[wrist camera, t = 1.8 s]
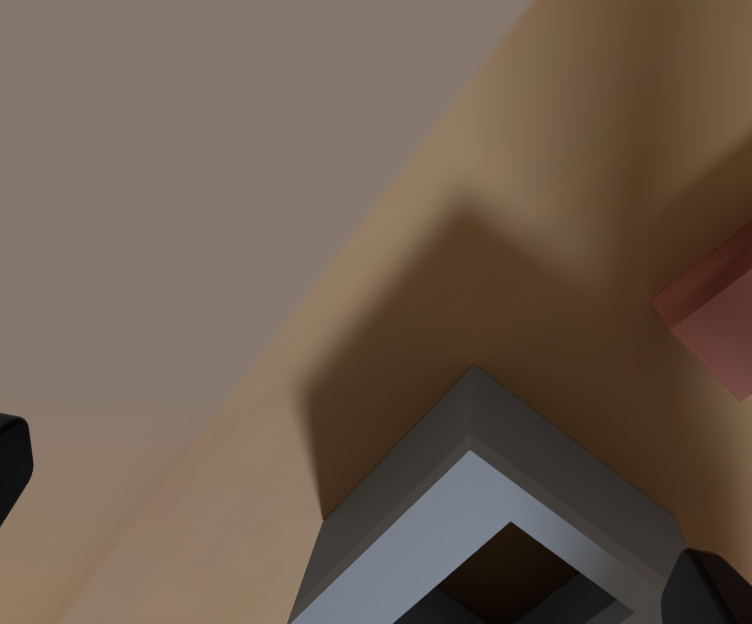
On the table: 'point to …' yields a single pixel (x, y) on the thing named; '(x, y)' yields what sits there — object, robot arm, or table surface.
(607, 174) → the table surface
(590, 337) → the table surface
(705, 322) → the pink rectangular block
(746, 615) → the robot arm
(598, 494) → the posting box
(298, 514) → the table surface
